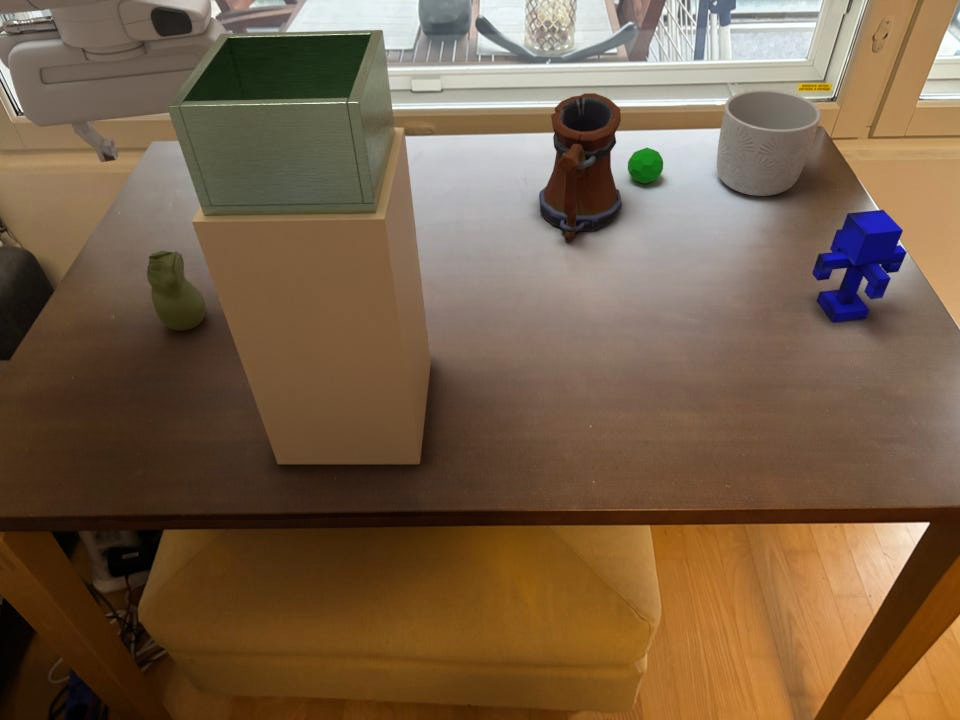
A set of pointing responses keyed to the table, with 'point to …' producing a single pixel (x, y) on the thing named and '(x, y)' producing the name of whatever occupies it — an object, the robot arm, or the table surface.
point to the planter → (765, 140)
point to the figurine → (859, 263)
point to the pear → (174, 292)
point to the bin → (312, 239)
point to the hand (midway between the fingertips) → (158, 153)
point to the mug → (582, 165)
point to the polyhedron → (645, 165)
